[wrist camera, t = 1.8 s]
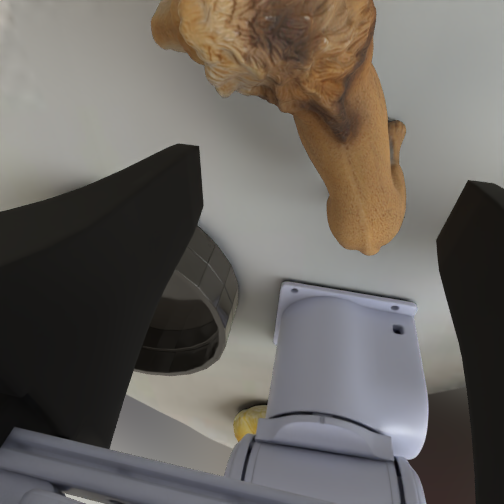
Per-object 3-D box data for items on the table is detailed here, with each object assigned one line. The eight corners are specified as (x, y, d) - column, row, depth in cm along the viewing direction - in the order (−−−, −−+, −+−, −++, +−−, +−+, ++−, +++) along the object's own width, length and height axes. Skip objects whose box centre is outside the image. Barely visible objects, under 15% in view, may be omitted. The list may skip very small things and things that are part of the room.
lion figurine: (197, -24, 14) (74, 16, 8) (312, -144, 11) (271, -240, 5) (358, 228, 21) (364, 362, 15) (454, 190, 18) (515, 335, 12)
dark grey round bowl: (241, 204, 21) (223, 253, 18) (238, 344, 32) (227, 390, 29) (10, 171, 23) (-44, 210, 20) (81, 314, 34) (53, 354, 31)
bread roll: (325, 427, 40) (323, 463, 38) (271, 437, 46) (267, 469, 43) (275, 395, 37) (270, 432, 35) (224, 410, 43) (216, 443, 40)
